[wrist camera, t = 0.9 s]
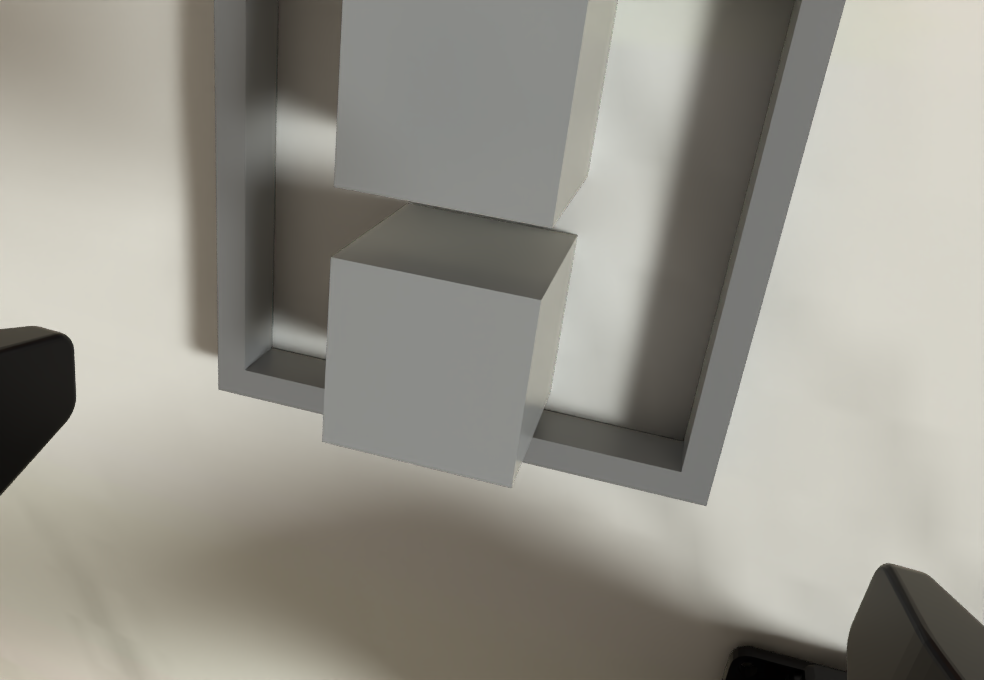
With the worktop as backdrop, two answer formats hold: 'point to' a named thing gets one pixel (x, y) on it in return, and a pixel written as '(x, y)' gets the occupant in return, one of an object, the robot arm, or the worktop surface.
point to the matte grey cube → (472, 102)
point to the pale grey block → (445, 340)
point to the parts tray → (558, 437)
